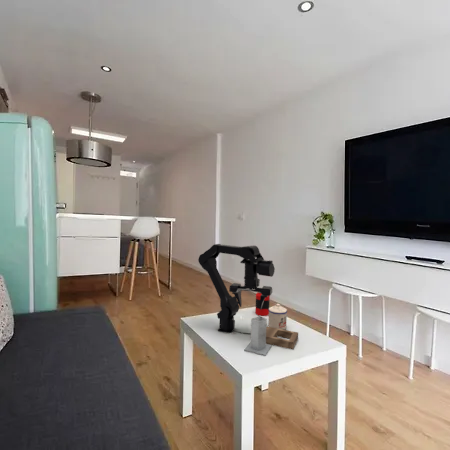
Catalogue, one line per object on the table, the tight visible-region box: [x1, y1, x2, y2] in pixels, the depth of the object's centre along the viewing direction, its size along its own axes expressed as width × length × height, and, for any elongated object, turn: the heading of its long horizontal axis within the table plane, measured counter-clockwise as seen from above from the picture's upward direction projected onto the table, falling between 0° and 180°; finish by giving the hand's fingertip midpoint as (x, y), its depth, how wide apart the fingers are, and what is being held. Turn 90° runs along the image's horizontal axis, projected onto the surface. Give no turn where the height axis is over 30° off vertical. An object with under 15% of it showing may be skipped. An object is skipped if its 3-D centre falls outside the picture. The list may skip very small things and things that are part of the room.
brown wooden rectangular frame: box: [266, 326, 299, 350], centre depth 127 cm, size 14×11×3 cm
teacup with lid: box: [267, 303, 288, 330], centre depth 142 cm, size 12×9×12 cm
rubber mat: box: [243, 341, 273, 357], centre depth 119 cm, size 9×9×1 cm
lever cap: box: [250, 315, 268, 351], centre depth 118 cm, size 4×5×12 cm
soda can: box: [255, 292, 271, 317], centre depth 160 cm, size 8×8×12 cm
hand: (250, 308), depth 130 cm, fingers open, 9 cm apart
